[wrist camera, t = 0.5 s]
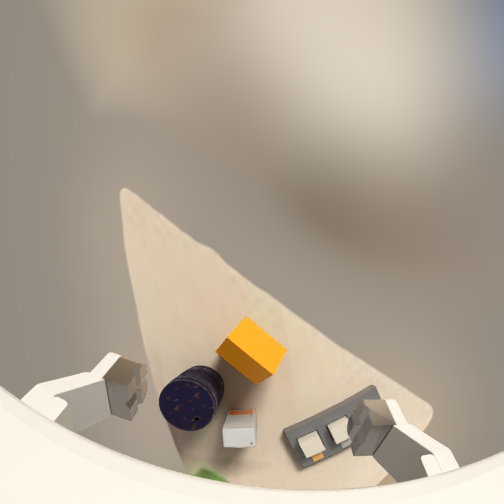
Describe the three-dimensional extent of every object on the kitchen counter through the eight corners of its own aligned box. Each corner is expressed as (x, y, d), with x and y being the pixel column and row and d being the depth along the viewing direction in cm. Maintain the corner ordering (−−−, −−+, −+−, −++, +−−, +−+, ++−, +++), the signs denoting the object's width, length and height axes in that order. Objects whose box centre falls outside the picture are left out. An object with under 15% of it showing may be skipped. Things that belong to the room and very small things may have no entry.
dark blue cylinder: (171, 380, 56) (147, 396, 42) (205, 356, 57) (189, 367, 43) (199, 414, 54) (183, 440, 40) (234, 391, 56) (227, 413, 41)
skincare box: (255, 408, 55) (255, 428, 43) (256, 425, 54) (257, 447, 42) (227, 409, 55) (221, 429, 43) (229, 426, 54) (223, 448, 42)
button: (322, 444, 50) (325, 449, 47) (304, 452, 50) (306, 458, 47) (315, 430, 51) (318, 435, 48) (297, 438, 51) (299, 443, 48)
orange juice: (256, 369, 57) (256, 394, 37) (224, 343, 58) (209, 356, 39) (280, 342, 58) (292, 354, 38) (247, 316, 59) (244, 315, 40)
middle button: (351, 430, 51) (355, 434, 48) (333, 439, 50) (336, 444, 48) (344, 415, 52) (348, 419, 49) (326, 425, 51) (329, 429, 49)
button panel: (385, 420, 53) (389, 423, 50) (301, 463, 51) (303, 468, 48) (371, 384, 55) (376, 387, 52) (283, 428, 53) (284, 433, 51)
